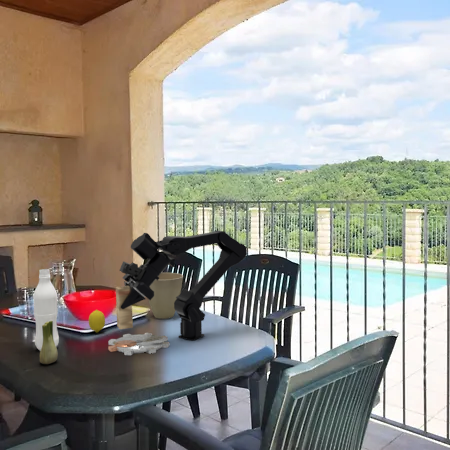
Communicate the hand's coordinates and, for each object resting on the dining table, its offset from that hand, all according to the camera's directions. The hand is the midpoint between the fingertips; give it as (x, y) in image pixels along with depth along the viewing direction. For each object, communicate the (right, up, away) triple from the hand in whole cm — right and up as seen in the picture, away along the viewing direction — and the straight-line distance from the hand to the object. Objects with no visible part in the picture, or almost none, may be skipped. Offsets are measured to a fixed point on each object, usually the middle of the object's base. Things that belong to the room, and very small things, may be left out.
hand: (119, 306), depth 163 cm
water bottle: (-23, -14, +1) cm, 27 cm away
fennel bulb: (-18, -15, -12) cm, 26 cm away
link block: (+1, -7, +1) cm, 7 cm away
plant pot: (+9, -10, +40) cm, 42 cm away
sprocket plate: (+5, -13, +4) cm, 15 cm away
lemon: (-12, -12, +19) cm, 25 cm away
